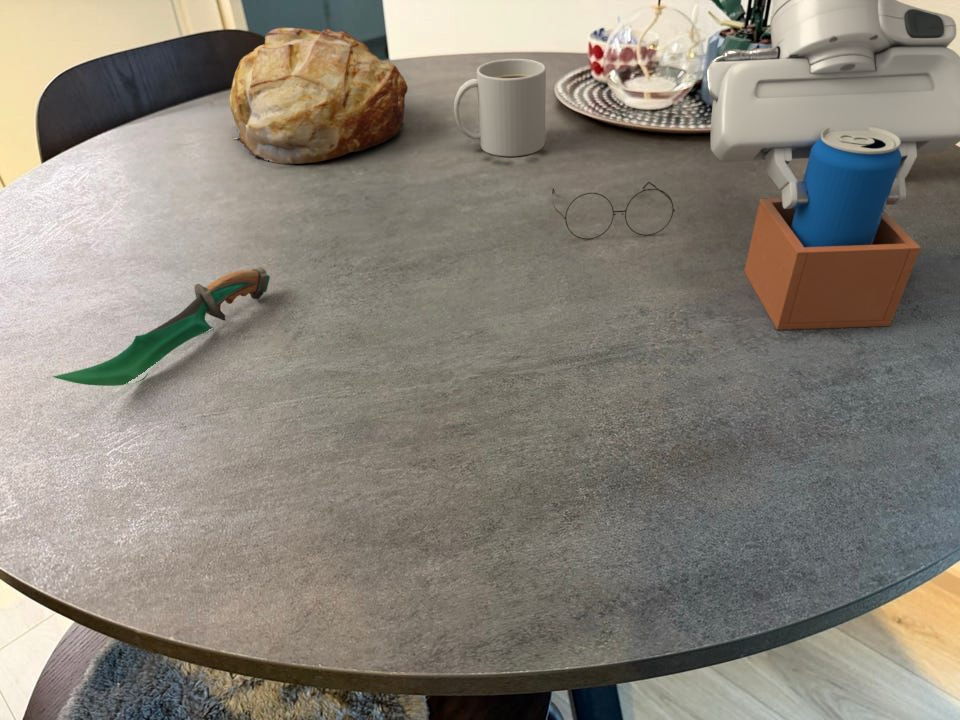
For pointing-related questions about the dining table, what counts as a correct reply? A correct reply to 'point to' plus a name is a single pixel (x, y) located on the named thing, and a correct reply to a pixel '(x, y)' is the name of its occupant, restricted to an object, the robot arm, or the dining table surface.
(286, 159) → the bread
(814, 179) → the beverage can
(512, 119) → the mug
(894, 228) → the box
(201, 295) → the knife
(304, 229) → the dining table surface
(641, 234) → the eyeglasses
